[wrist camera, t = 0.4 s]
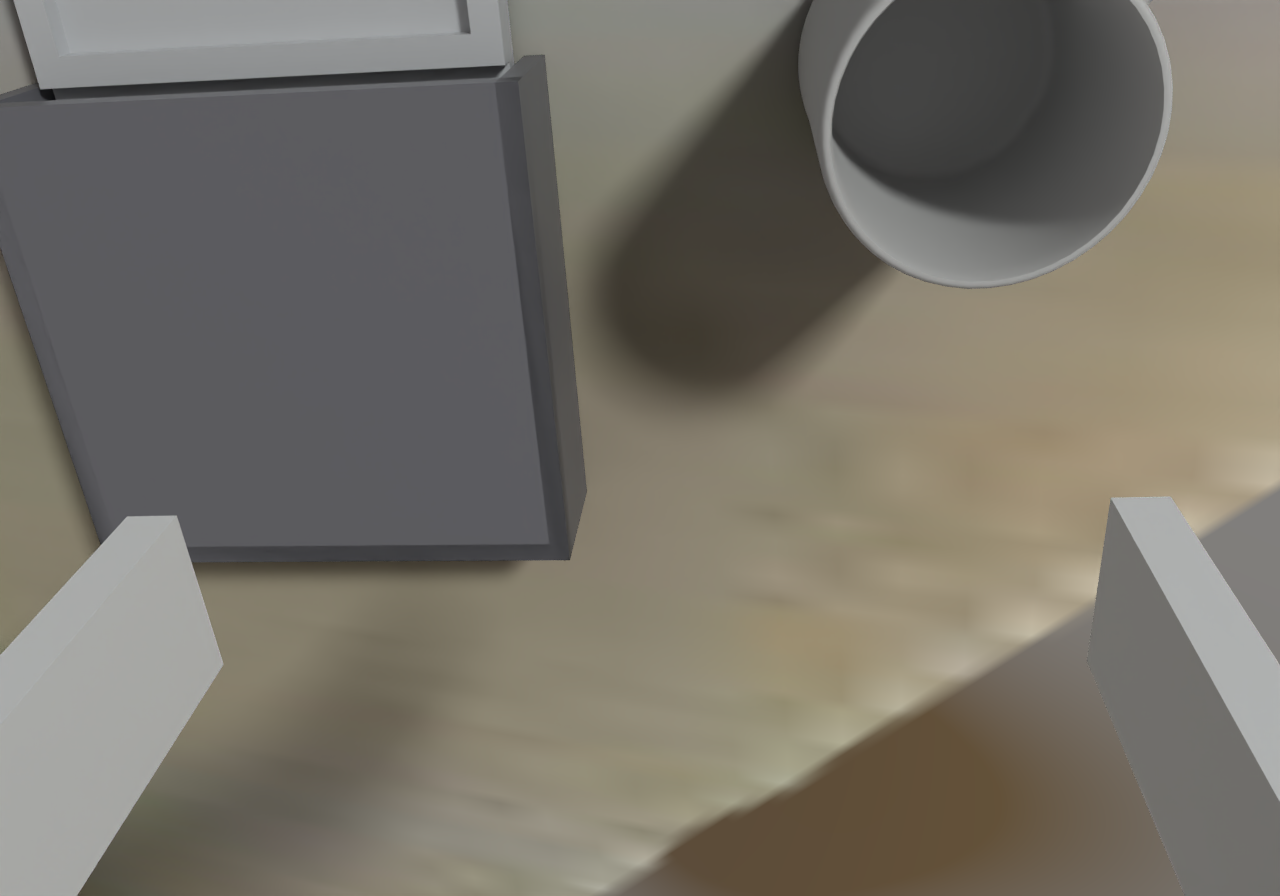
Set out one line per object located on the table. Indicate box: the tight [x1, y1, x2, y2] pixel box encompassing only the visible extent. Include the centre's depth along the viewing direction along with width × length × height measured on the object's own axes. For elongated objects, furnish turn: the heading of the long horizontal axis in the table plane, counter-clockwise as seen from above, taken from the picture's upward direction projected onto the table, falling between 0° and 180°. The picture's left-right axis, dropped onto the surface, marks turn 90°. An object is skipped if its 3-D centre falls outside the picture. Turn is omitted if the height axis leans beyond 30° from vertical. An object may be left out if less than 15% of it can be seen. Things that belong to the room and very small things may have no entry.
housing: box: [0, 55, 587, 562], centre depth 40 cm, size 17×18×5 cm
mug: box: [798, 0, 1173, 289], centre depth 31 cm, size 12×8×11 cm
